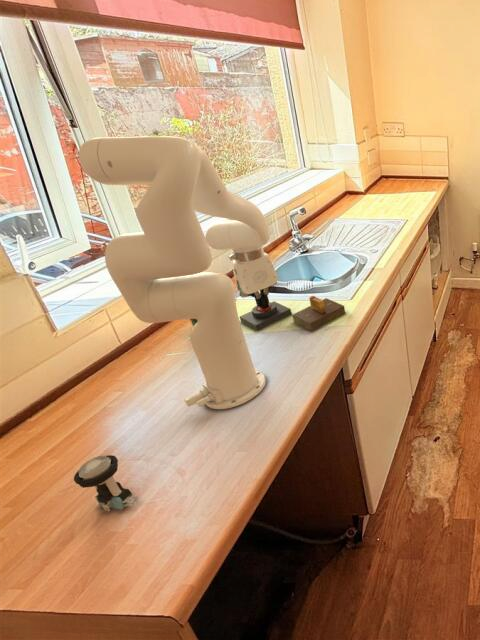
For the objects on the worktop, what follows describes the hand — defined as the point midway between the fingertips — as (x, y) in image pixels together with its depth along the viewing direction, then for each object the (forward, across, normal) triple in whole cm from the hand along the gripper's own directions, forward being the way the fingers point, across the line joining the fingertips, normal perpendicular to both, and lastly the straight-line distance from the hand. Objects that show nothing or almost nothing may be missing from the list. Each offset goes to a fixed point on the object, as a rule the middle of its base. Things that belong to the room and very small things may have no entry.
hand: (264, 306), depth 125 cm
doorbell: (+4, 0, 0) cm, 4 cm away
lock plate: (+4, +9, -14) cm, 17 cm away
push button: (+4, -48, -37) cm, 61 cm away
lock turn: (+1, +9, -14) cm, 17 cm away
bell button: (+2, 0, 0) cm, 2 cm away
